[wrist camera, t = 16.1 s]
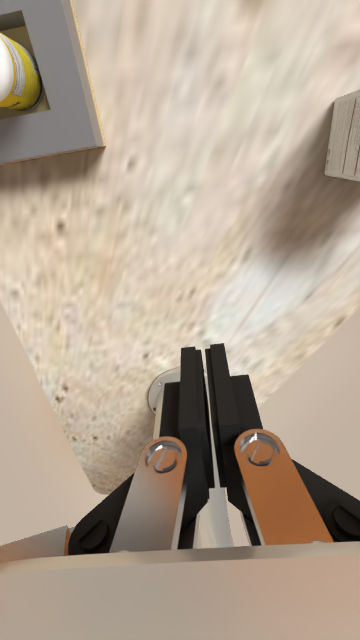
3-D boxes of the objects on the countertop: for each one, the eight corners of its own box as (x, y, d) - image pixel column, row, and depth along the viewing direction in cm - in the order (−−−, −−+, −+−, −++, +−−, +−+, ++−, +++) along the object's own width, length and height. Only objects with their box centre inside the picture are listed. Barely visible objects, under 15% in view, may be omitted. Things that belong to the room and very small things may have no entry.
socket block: (106, 146, 34) (96, 145, 30) (-12, 166, 35) (-34, 168, 32) (64, -34, 27) (46, -61, 24) (-79, 0, 28) (-117, -21, 25)
